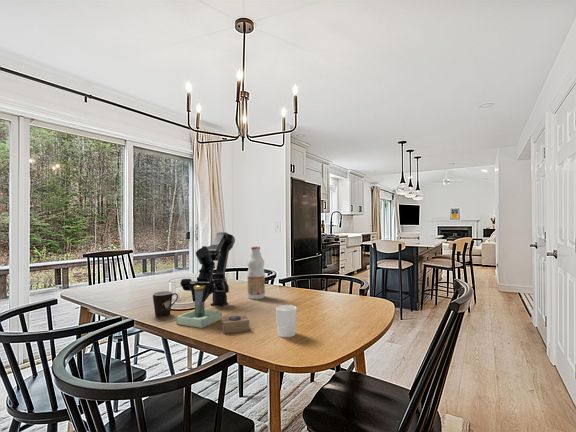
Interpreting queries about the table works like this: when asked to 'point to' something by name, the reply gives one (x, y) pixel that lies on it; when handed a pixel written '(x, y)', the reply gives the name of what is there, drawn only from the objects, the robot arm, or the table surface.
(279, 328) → the white cup
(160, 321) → the table surface
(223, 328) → the block
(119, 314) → the table surface
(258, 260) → the fruit juice
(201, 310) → the grey metal cylinder
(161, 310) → the coffee mug
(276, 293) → the table surface
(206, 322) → the green tray
